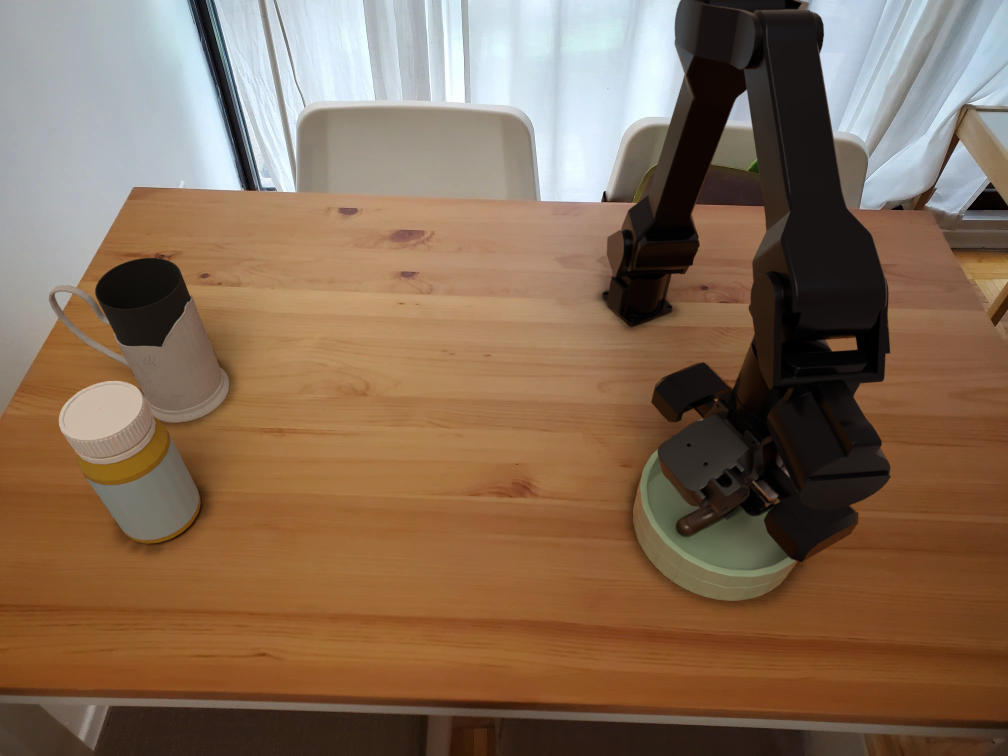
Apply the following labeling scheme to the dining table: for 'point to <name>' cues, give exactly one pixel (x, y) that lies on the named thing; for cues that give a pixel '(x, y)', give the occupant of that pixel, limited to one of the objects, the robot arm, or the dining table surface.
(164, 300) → the glass holder
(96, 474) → the bottle
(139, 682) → the dining table surface
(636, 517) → the bowl
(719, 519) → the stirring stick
